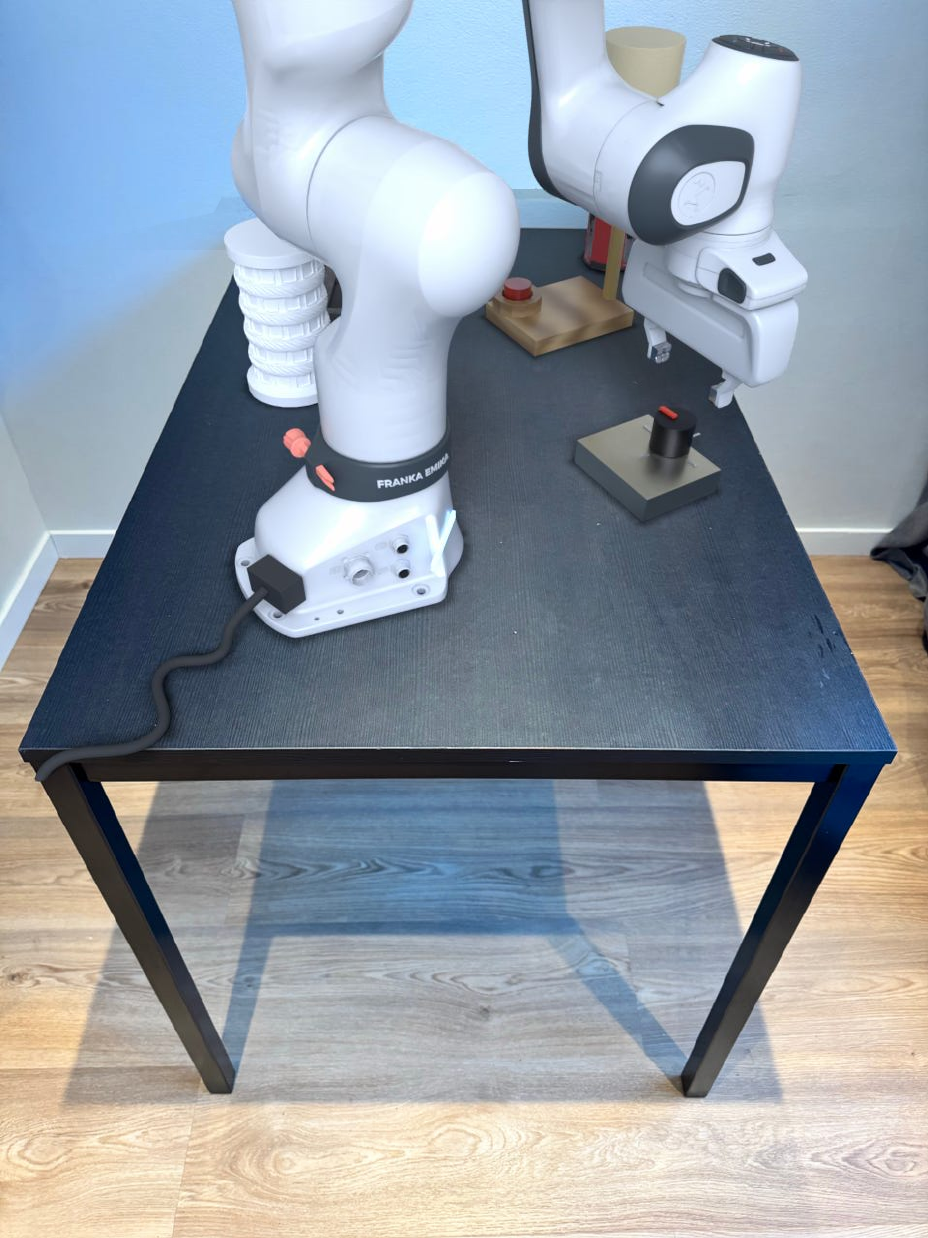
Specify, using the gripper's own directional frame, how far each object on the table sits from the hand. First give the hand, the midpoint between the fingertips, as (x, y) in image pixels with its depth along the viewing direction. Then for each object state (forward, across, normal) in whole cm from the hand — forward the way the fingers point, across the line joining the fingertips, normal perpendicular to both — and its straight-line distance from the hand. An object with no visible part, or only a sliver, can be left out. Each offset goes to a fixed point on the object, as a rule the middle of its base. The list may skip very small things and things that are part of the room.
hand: (687, 380), depth 89 cm
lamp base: (+11, -33, +8) cm, 36 cm away
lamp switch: (+8, -36, +3) cm, 37 cm away
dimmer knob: (+8, 0, -1) cm, 8 cm away
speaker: (+12, -44, +25) cm, 52 cm away
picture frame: (+11, -53, -9) cm, 55 cm away
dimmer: (+11, 0, -3) cm, 11 cm away
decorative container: (+11, -37, -29) cm, 48 cm away
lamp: (+7, -29, +13) cm, 33 cm away
